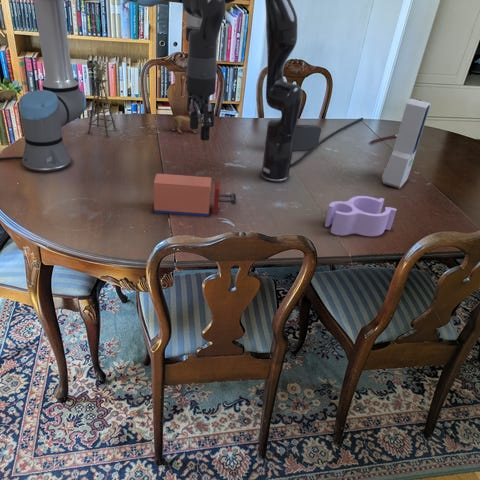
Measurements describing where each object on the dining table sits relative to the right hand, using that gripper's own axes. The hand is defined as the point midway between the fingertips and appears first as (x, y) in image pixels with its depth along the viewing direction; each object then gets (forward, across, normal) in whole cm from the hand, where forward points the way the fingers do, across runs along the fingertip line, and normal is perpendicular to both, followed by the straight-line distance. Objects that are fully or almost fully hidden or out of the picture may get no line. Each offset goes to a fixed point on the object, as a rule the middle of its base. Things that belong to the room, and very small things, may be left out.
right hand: (199, 134), depth 128 cm
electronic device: (+25, +2, -79) cm, 83 cm away
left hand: (-1, +26, -8) cm, 28 cm away
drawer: (+24, 0, -2) cm, 24 cm away
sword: (+26, +40, -109) cm, 119 cm away
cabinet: (+24, +2, +4) cm, 25 cm away
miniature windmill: (+25, +71, +15) cm, 77 cm away
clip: (+25, -22, -44) cm, 55 cm away
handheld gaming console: (+25, +38, -55) cm, 71 cm away
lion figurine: (+25, +65, -19) cm, 73 cm away
